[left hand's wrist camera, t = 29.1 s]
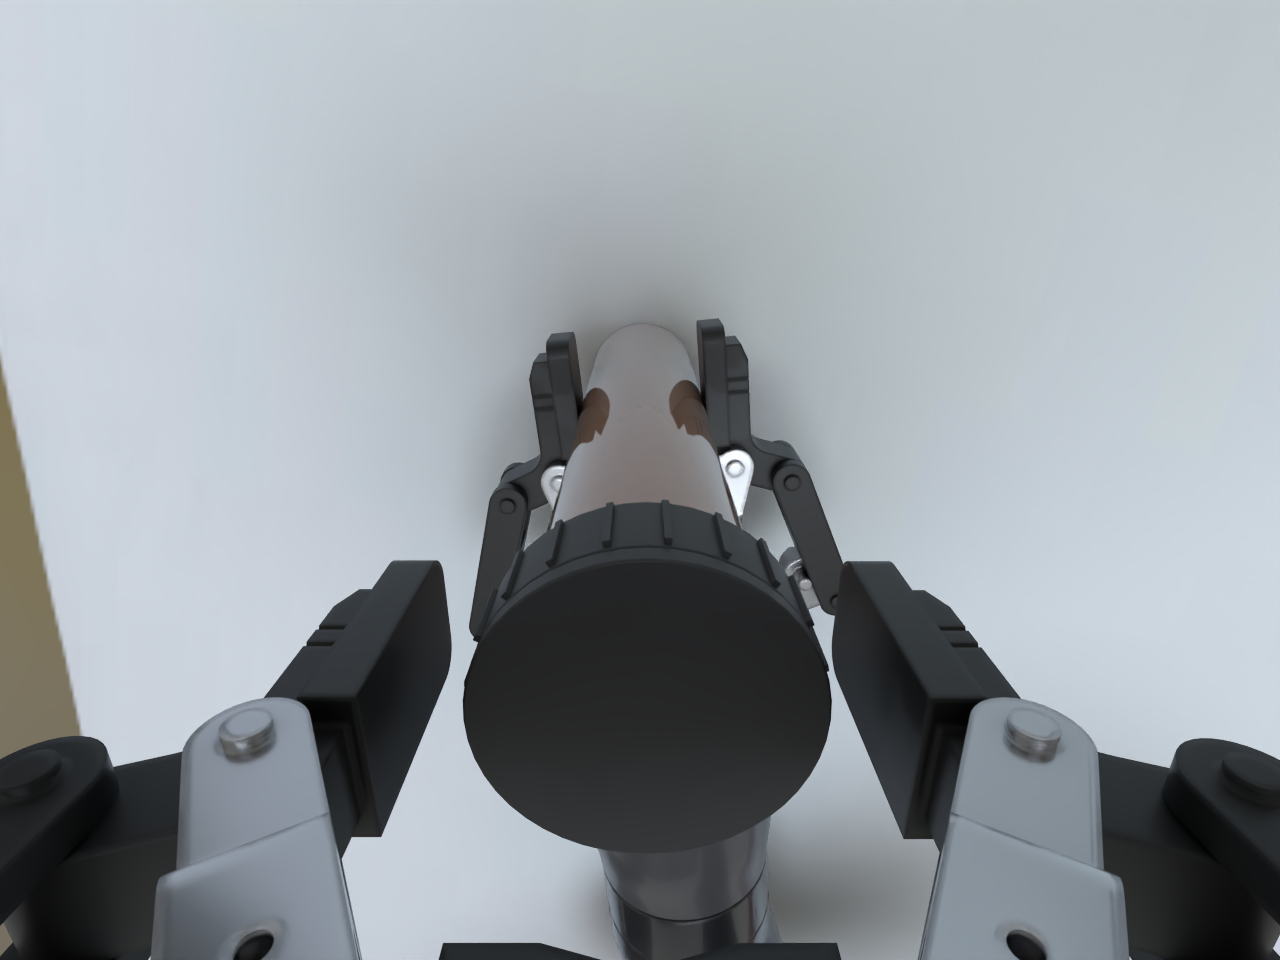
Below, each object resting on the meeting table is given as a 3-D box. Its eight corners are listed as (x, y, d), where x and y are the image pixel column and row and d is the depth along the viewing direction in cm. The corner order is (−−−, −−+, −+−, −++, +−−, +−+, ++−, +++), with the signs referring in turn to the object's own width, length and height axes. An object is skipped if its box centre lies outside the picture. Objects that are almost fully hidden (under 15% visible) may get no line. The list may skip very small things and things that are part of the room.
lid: (747, 791, 12) (764, 884, 11) (461, 733, 12) (431, 821, 10) (856, 542, 10) (896, 608, 9) (519, 460, 10) (495, 512, 8)
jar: (597, 421, 29) (528, 779, 11) (590, 325, 28) (496, 560, 10) (692, 417, 29) (776, 769, 11) (690, 321, 27) (783, 547, 10)
